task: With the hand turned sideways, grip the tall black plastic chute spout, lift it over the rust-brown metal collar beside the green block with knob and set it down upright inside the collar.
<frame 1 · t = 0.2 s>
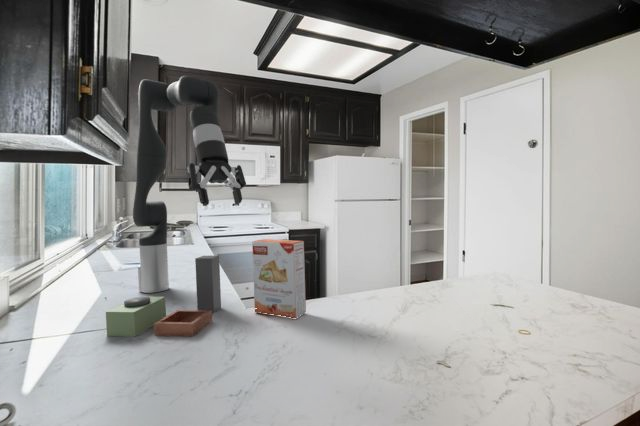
hand: (222, 204, 84), 31 cm above the countertop, tool tilted 20°, fingers open, 8 cm apart
chute spout: (209, 310, 100), on the countertop
cracker box: (280, 314, 95), on the countertop
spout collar: (184, 328, 86), on the countertop
green block with knob: (138, 326, 89), on the countertop
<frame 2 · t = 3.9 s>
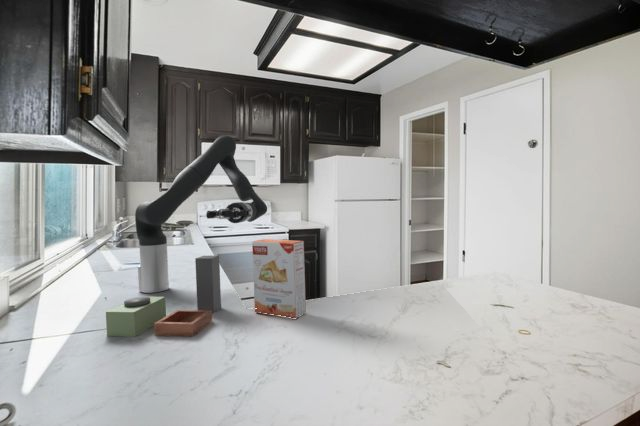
hand: (220, 214, 110), 28 cm above the countertop, tool horizontal, fingers open, 8 cm apart
nothing on the countertop moved.
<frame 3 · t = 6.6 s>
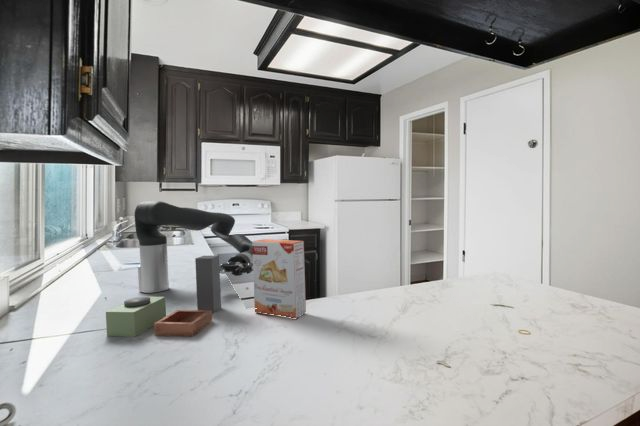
hand: (223, 272, 111), 9 cm above the countertop, tool horizontal, fingers open, 8 cm apart
nothing on the countertop moved.
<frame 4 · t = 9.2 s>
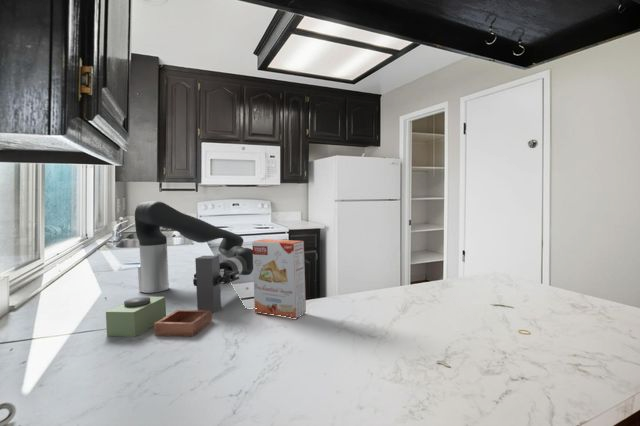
hand: (204, 282, 97), 9 cm above the countertop, tool horizontal, fingers closed on chute spout, 5 cm apart
chute spout: (209, 310, 100), on the countertop, touching gripper
everything else where it was.
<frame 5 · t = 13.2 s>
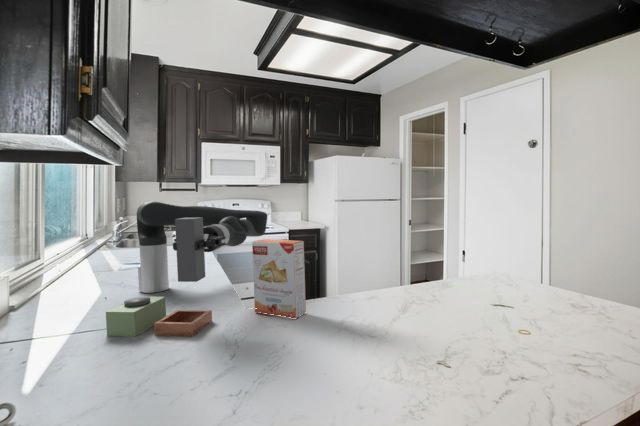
hand: (185, 246, 85), 21 cm above the countertop, tool horizontal, fingers closed on chute spout, 5 cm apart
chute spout: (192, 279, 88), point 12 cm above the countertop, touching gripper
everything else where it was.
when the fingers open (10 cm above the countertop, at t = 16.7 s): chute spout drops 1 cm, resting in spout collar.
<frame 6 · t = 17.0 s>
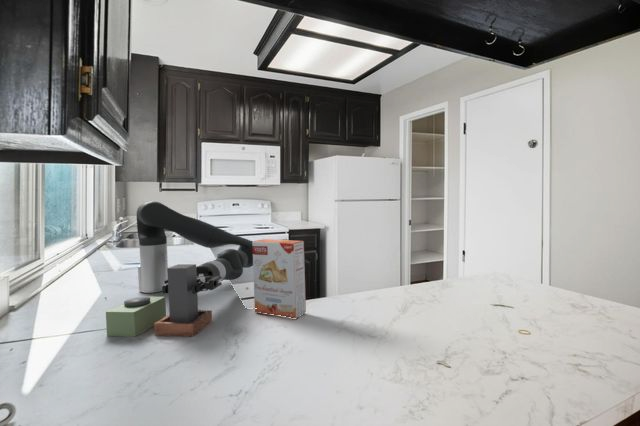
hand: (178, 289, 84), 11 cm above the countertop, tool horizontal, fingers open, 7 cm apart
chute spout: (184, 328, 87), resting in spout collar
everything else where it was.
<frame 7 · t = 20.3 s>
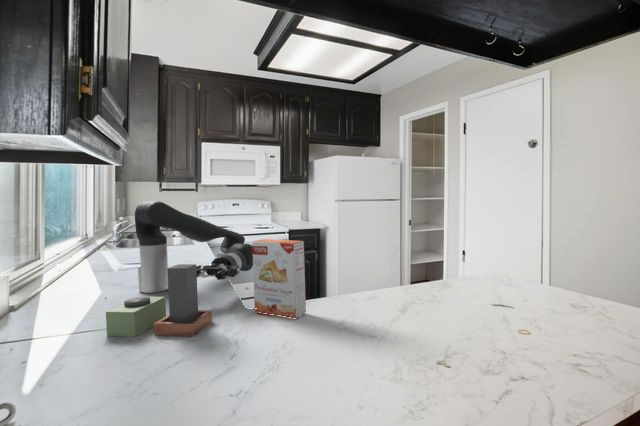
hand: (204, 276, 97), 11 cm above the countertop, tool horizontal, fingers open, 8 cm apart
nothing on the countertop moved.
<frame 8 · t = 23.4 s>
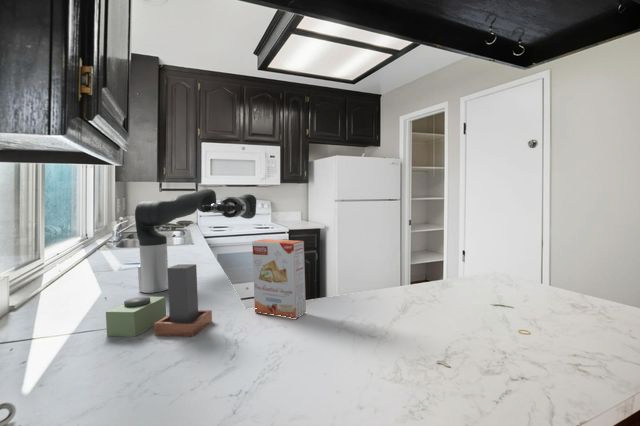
hand: (215, 208, 115), 30 cm above the countertop, tool horizontal, fingers open, 8 cm apart
nothing on the countertop moved.
at the end: chute spout 0.0 cm off-centre on the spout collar, point 0.0 cm above the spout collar's base; chute spout tilted 0°; the gripper is holding nothing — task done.
